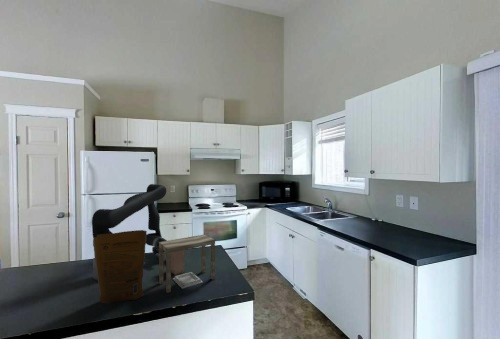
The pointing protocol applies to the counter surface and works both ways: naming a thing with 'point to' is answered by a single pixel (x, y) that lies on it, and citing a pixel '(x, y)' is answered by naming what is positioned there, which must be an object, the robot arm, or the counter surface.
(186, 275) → the tray
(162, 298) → the counter surface
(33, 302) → the counter surface
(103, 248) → the pancake mix bag
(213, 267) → the small wooden table
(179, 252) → the plain brown box
